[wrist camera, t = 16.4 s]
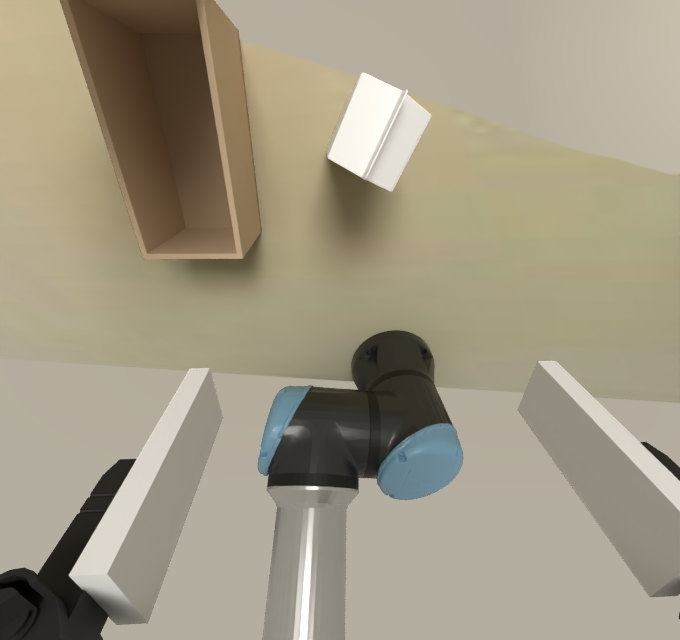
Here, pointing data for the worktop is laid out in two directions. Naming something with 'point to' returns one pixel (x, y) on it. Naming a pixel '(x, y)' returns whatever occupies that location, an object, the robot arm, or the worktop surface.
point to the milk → (377, 131)
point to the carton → (172, 121)
